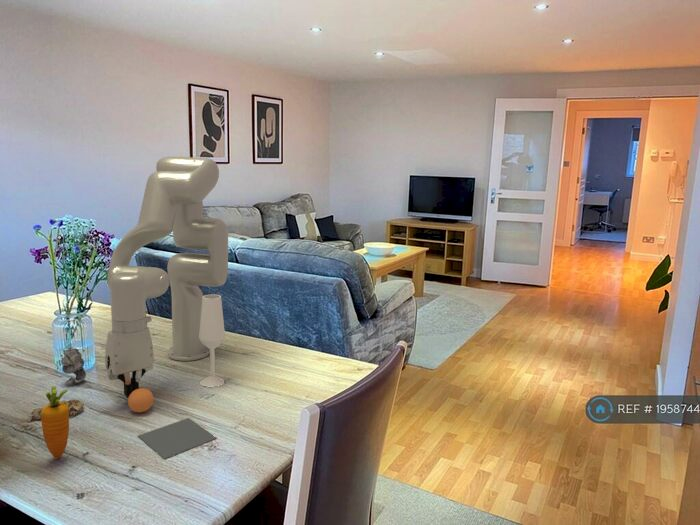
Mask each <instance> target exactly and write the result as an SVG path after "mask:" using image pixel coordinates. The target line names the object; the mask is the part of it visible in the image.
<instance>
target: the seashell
mask: <svg viewBox="0 0 700 525" xmlns="http://www.w3.org/2000/svg"><path fill="white" fill-rule="evenodd" d="M60 363H61V365H62V368H61V369H62V372H63V373H65V374H71V373H72V374H74V375H75V378H74V377H70V378H69V379H68V380H67V381H66V382H65V384H66V385H74V384H77V383H81V382H83V381H84V379H86V378H87V373H86V370H85V368H84V365H85V361H84V358H82V354H81V352H80V351H79V349H78V348H74V347H73V346H71V347H70V348H68V349H65V351H64V357H62V358H61V360H60Z"/></svg>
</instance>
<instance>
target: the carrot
mask: <svg viewBox="0 0 700 525" xmlns="http://www.w3.org/2000/svg"><path fill="white" fill-rule="evenodd" d="M50 389H51V391H47V392H45V397H46V398H47V399H48V401H49V403H51V404H49V403H48V404H49V405H48V404H47V405H45V406H44V407H41V408H42V412H41V421H40V422H41V428H42V429H41V430H42V436H43V440H44V443H45V445H46V447H47V449H48V452H49V453H50V454H51V456H52V457H53V458H54V459H56V460H60V459H61V458H62V457H63V455H64V452H65V450H66V447H67V445H68V439H69V438H68V437H69V430H70V418H69V407H68V405H67V404H65V403H60V401H61V398H62V397H63V396H64V394H66V393H67V392H68V391H69V390H68V389H64V390H62V391H61V392H60V393H59V395H57V394H58V390H57V387H56V386H55V385H54V386H51V388H50Z"/></svg>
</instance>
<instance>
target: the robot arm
mask: <svg viewBox="0 0 700 525" xmlns="http://www.w3.org/2000/svg"><path fill="white" fill-rule="evenodd" d="M155 167H156V168H155V170H156V171H154V172H152V173H150V175H149V176H148V177H147V179H146V180H147V181H146V184H145V187H144V188H145V189H144V194H143V198H142V202H141V207H140V212H139V217H138V221H137V224H136V225H135V226H134V227H133V228H132V229H131V230H130V231H128V232H127V233H126V234H125V235H124V237H123V238H121V240H120V241H119V243H118V244H117V245H116V246H115V248H114V249H113V252H112V254H111V258H110V261H109V266H108V271H107V281H106V282H107V287H108V289H109V290H110V309H111V313H110V314H111V315H110V316H111V330H109V331H108V332H107V337H106V344H105V353H104V354H105V359H104V361H105V362H104V363H105V364H104V365H105V369H106V370H107V375H106V377H107V379H108V380H111V381H115V380H119V381H121V382H123V393H124V396H125V397H126V398H129V396H130V394H131V393H132V392H133V391H134V390H136V389H139V388H140V382H141V380H142V378H143V376H144V375H145V374H146V373H147V372H150V371H152V370H154V358H155V357H154V347H153V340H152V335H151V331H150V327H148V323H150V322H152V320H153V319H152V317H151V316H150V315H149V316H147V309H146V308H147V305H146V302H147V300H150V299H155V298H159V297H161V296H163V295H164V294H165V293H166V292H167V291H168V290H169V286H170V293H171V325H172V326H171V329H172V330H171V332H172V333H171V335H172V347H171V348H169V349H167V353H166V354H167V357H168V358H169V359H171V360H175V361H179V362H180V361H182V362H187V361H188V362H189V361H190V362H191V361H196V360H201V359H204V358H206V357H208V356H210V349H209V348H207V347H206V346H205V345H204V344H203V343H202V342H201V341H200V339H199V332H200V320H201V309H202V297H203V296H204V294H203V292H202V290H201V288H200V287H202V286H203V287H221V286H223V285H224V284H225V283H226V281H227V279H228V274H229V273H228V272H229V271H228V270H229V230H228V228H227V224H226V223H225V222H224V220H222V219H220V218H215V217H204V212H203V208H204V207H203V206H204V204H203V201H204V199H205V198H206V197H207V196H208V195H209V194H210V193H211V191H213V189H214V188H215V187H216V185H217V183H218V180H219V177H220V170H219V166H218V164H217V163H216V161H215V160H213V159H211V158H208V157H194V156H193V157H191V156H165V157H162V158H160V159H158V161H157V162H156V166H155ZM171 233H172V239H173V242H174V244H175V245H176V247H178V248H181V249H188V250H189V249H190V250H204V251H208V253H209V254H208V253H193V252H179V253H176V254H174V255H172V256H171V257H170V258H169V260H168V261H167V272H166V271H165V270H164V269H162V268H160V267H156V266H155V267H152V266H142V265H141V266H140V265H139V266H138V265H130V263H131V260H132V258H133V256H134V255H135V253H137V251H139V250H140V249H141V248H143V247H144V246H147V245H148V244H151V243H154V242H156V241H158V240H160V239H163V238H165V237H169V235H170V234H171ZM130 373H131V374H130Z"/></svg>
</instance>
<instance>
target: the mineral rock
mask: <svg viewBox="0 0 700 525" xmlns="http://www.w3.org/2000/svg"><path fill="white" fill-rule="evenodd" d="M59 402H60V403H65V404H67V405H68V407H69V419H71V418H75V416H76V415H79V414H80V413H81V412H83V410H84V407H85V402H83V401H80V400H79V399H70V400H65V399H63V400H60V401H59ZM49 404H51V403H50V402H49V403H48V404H47V405H49ZM42 408H43V407H41V408H40V407H39V408H35V409H33V410H32V411H31V420H36V421H40V422H42V421H41V412H42Z"/></svg>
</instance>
